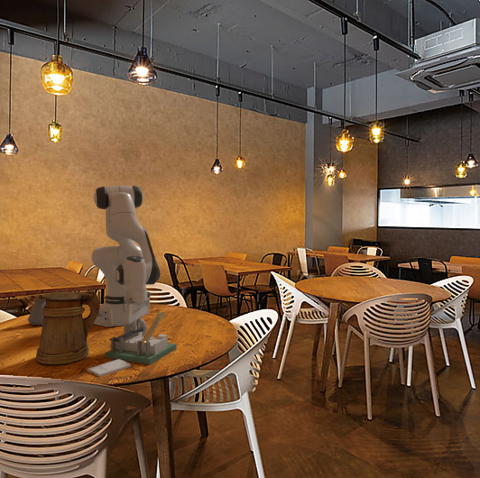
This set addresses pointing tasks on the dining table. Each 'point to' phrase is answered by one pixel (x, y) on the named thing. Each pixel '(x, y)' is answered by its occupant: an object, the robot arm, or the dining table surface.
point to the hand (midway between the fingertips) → (135, 329)
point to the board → (140, 349)
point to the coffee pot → (37, 312)
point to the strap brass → (152, 328)
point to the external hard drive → (109, 367)
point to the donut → (128, 327)
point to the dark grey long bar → (128, 334)
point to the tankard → (66, 326)
